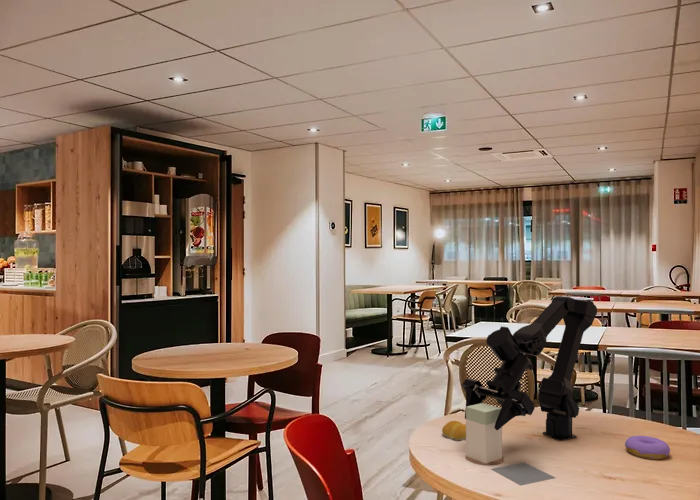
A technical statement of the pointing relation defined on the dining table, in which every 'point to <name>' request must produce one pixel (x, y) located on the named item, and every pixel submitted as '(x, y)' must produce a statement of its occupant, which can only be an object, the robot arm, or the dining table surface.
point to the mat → (522, 473)
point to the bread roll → (455, 430)
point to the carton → (483, 433)
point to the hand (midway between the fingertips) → (480, 424)
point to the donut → (647, 447)
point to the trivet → (486, 463)
